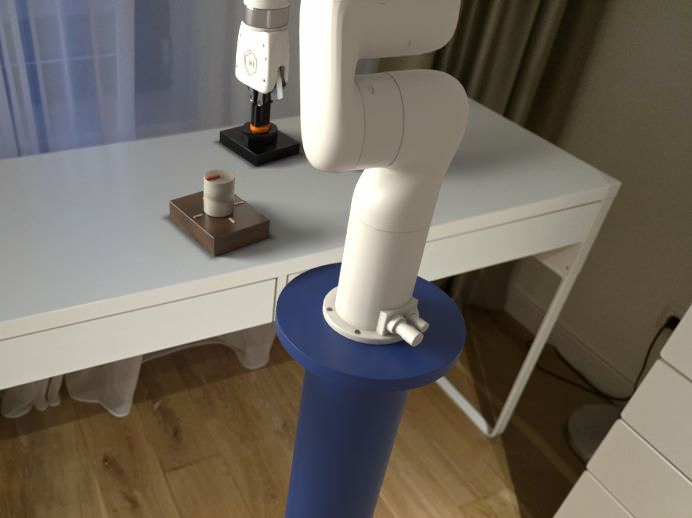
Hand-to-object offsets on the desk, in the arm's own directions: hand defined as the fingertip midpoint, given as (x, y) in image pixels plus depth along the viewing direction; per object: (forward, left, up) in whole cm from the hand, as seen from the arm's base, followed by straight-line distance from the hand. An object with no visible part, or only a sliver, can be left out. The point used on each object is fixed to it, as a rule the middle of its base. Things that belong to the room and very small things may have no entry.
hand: (260, 124), depth 121 cm
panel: (-20, +22, -5) cm, 30 cm away
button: (0, 0, -2) cm, 2 cm away
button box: (0, 0, -5) cm, 5 cm away
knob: (-20, +22, -2) cm, 30 cm away
